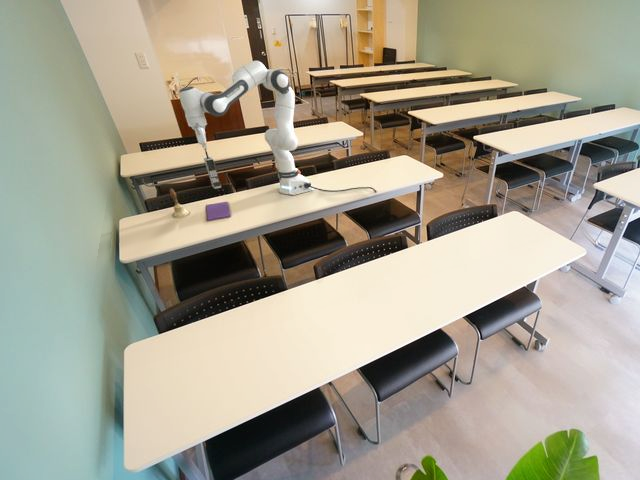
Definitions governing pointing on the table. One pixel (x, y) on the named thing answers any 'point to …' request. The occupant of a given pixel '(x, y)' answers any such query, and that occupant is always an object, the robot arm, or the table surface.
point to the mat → (217, 211)
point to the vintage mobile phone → (212, 171)
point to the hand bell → (177, 206)
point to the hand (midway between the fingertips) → (205, 148)
